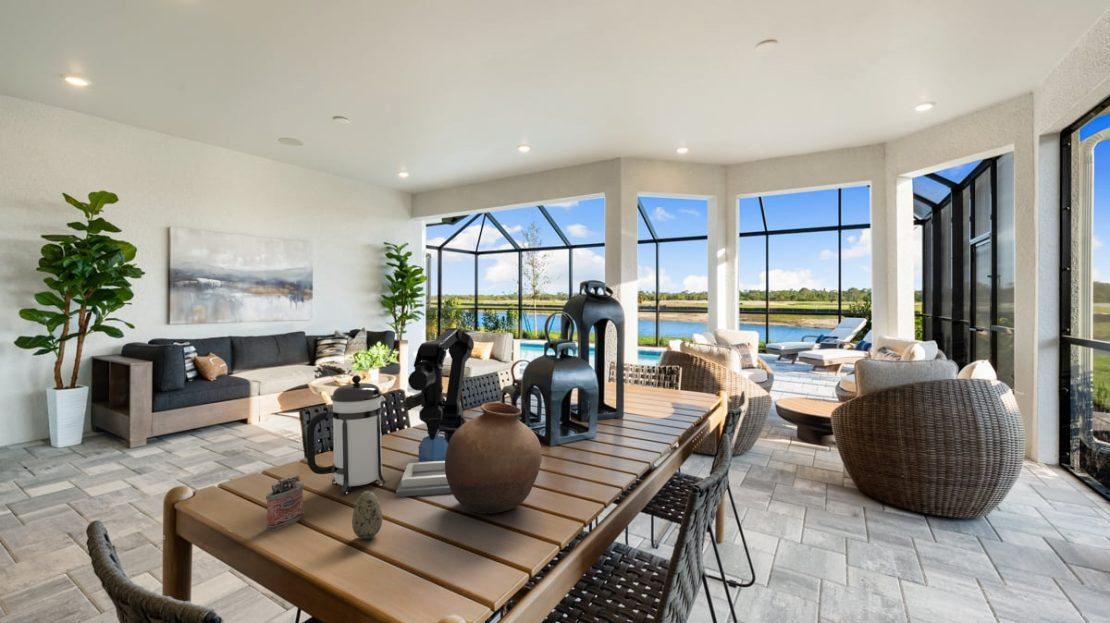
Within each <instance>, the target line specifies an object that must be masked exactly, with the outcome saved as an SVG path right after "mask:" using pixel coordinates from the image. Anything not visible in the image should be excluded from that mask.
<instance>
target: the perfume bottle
mask: <svg viewBox="0 0 1110 623" xmlns="http://www.w3.org/2000/svg"><path fill="white" fill-rule="evenodd" d="M439 434H440V432H439V429H438V430H437V433H436V436H435V439H434V440H430V436H429V433H428V432H427V436H424V437H423V439H422V440H421V441H420V444H419V445H418V462H434V461H445V457H446V452H447V447H448V443H447V441H446V440H445V438H444V435H439Z"/></svg>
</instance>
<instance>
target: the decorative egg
mask: <svg viewBox="0 0 1110 623" xmlns="http://www.w3.org/2000/svg"><path fill="white" fill-rule="evenodd" d="M382 524H383V512H382V507H381V504H380V502H379V499H378V496H376V494H375V493H374V492H373V491H372V490H371V491H370V490H365V491H363V492H362V493H361V494H360V495H359V497H358V498H357V500H356V502H355V505H354V509H353V512H352V517H351V525H352V530H353V533H354V534H355V535H356V537H358V538H359V539H362V540H369V539H372V538H374V537H375V536H376V535H377V534H378V533H379V531H380V530H381V527H382Z"/></svg>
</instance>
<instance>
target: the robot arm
mask: <svg viewBox="0 0 1110 623" xmlns="http://www.w3.org/2000/svg"><path fill="white" fill-rule="evenodd" d="M474 347H475V343H474V339H473V338H472V336H471V335H470V334H468V333H467V332H464V331H463V330H462V328H459V327H448V328H446V329H445V330H444V331H443V333H441V334H440V335H439V336H438V337H436V338H435V339H434V340H430V341H424V342H422V343H421V344H420V346H419V347H418V349H417V353H416V356H415V358H414V363H413V368H414V370H413V371H412V372H411V373H410V374H409V376H408V380H407V381H408V385H409V387H410V388H411V389H412V390H414V391H417V392H418V391H420V392H418V393H415V394H413V395H411V394H410V395H409V396H406V397H405V398H404V400H403V401H402V402H403V406H404V407H405V409H406V412H408V411H411V410H412V409H414V408H417V407H419V406H421V408H420V411H419V415H418V417H419V420H420V421H421V422H423V423H425V425H426V429H427V434H428V433H429V434H428V436H430V440H434V439H435V436H436V433H437V430H438V429H439V433H443V437H444V438H445V440H446V441H447V443H448V444H449V441H450V439H451V437H452V435H453V434H454V433H455V431H456V430H457V429H458V428H459V427H461V426H462V425H463V424H464V423H466V422H467V421H468V420H466V417H465V416H464V409H463V407H462V405H461V395H462V389H463V383H464V375H465V370H466V368H465V367H466V363H467V361H468V360H469V358H471V356H472V352H473V349H474ZM447 351H448V352H447ZM447 353H448V354H449V356H450V358H451V363H450V370H449V378H448V382H447V383H448V384H447V391H446V397H444V396H443V390H444V386H443V368H444V362H445V359H446V357H447Z"/></svg>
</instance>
